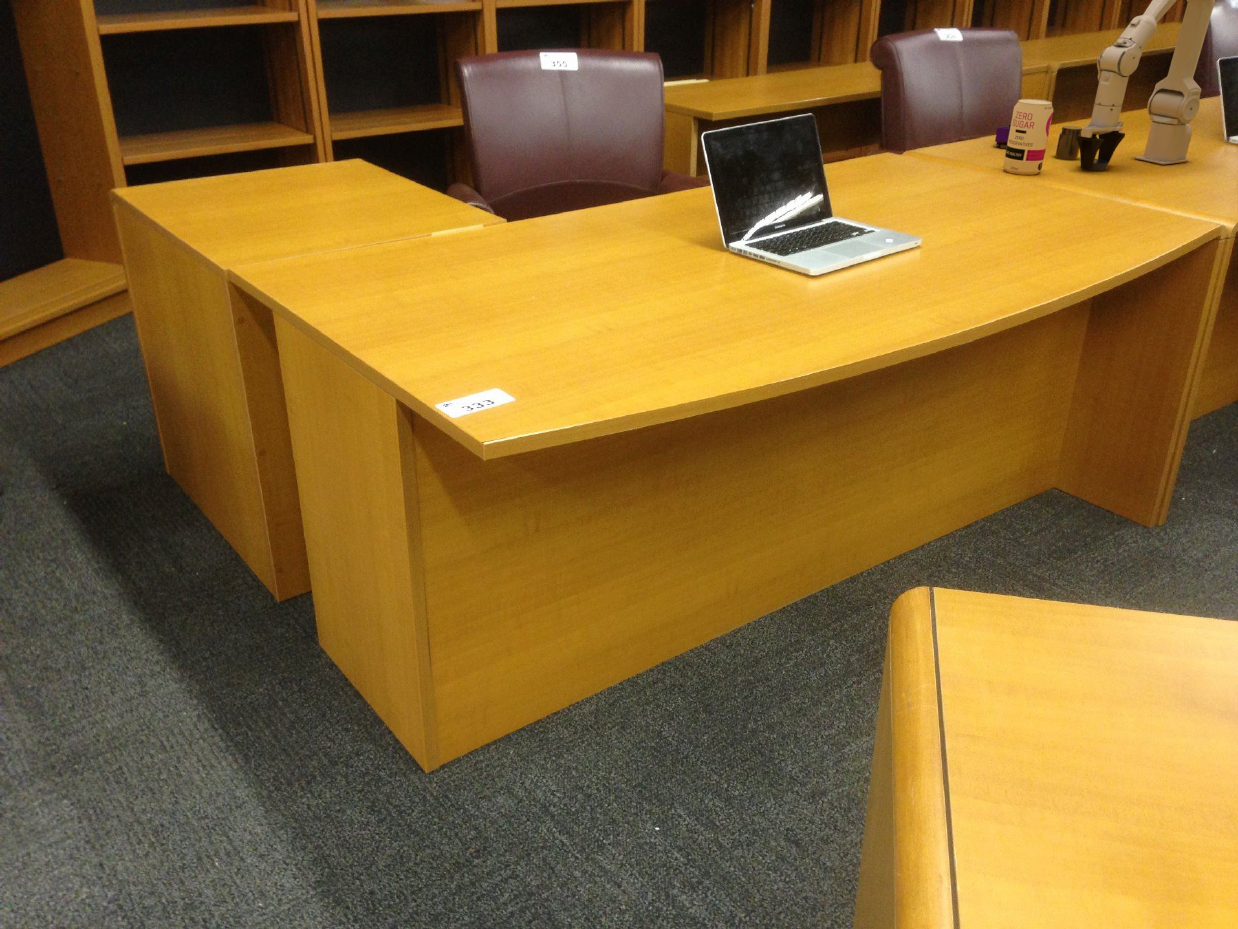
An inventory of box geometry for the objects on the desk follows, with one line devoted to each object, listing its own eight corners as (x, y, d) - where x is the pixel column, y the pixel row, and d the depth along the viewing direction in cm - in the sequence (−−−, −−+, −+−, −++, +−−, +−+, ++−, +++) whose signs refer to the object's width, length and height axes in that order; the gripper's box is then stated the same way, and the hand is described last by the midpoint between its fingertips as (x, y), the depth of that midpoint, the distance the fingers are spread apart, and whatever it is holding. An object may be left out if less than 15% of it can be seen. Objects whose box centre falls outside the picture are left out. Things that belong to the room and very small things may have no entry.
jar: (1064, 154, 253) (1070, 124, 249) (1081, 158, 249) (1088, 128, 246) (1050, 156, 250) (1056, 126, 247) (1068, 160, 247) (1074, 130, 243)
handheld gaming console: (1047, 127, 265) (1036, 129, 253) (1042, 149, 267) (1031, 151, 255) (1009, 123, 269) (997, 125, 257) (1005, 144, 271) (992, 147, 259)
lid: (1110, 171, 237) (1112, 163, 236) (1085, 170, 237) (1086, 163, 236) (1101, 166, 242) (1103, 158, 241) (1076, 165, 242) (1078, 157, 241)
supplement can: (1040, 169, 238) (1054, 99, 231) (1040, 176, 231) (1055, 105, 224) (1002, 166, 240) (1015, 97, 233) (1002, 173, 233) (1015, 102, 226)
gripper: (1109, 109, 226) (1094, 173, 232) (1141, 103, 234) (1126, 165, 241) (1078, 105, 231) (1065, 168, 237) (1111, 99, 239) (1097, 160, 245)
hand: (1094, 166), depth 239 cm, fingers open, 7 cm apart
